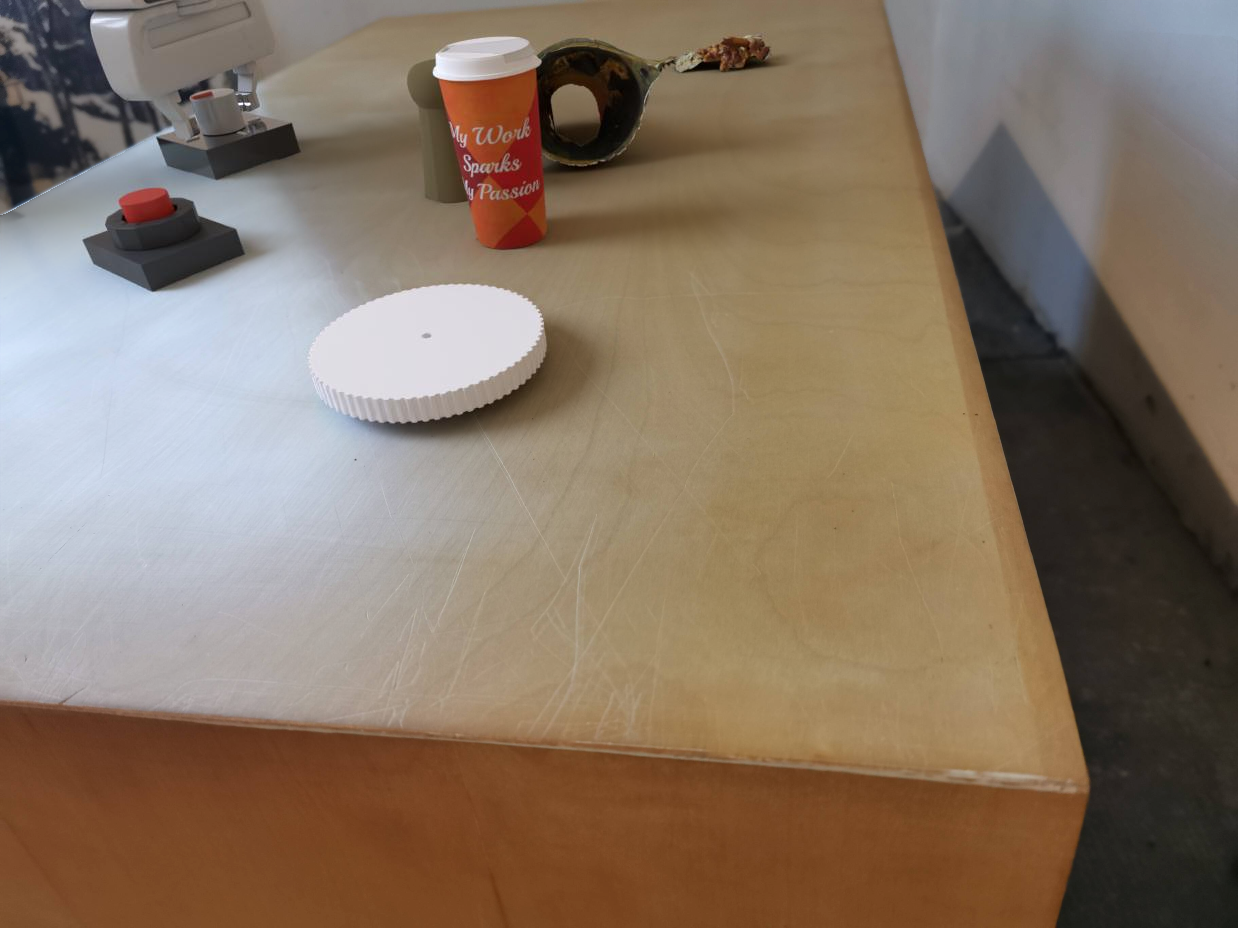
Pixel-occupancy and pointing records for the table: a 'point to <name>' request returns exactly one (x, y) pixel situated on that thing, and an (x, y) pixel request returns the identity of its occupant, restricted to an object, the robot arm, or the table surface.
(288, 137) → the panel
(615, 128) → the olive metal hollow piece
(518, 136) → the paper cup
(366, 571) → the table surface
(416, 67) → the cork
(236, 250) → the box
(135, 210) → the button
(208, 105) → the burner knob
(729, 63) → the pastry
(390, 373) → the plastic lid
